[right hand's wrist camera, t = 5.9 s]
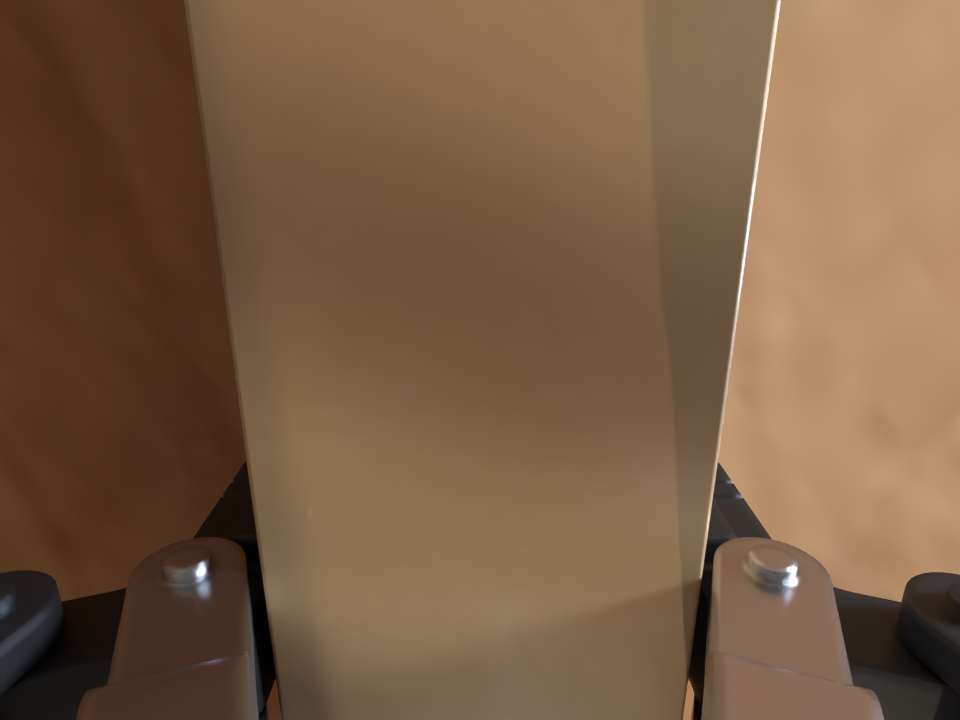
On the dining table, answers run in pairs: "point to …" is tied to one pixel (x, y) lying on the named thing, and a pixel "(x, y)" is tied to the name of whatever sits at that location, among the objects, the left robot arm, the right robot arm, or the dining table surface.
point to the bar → (482, 336)
